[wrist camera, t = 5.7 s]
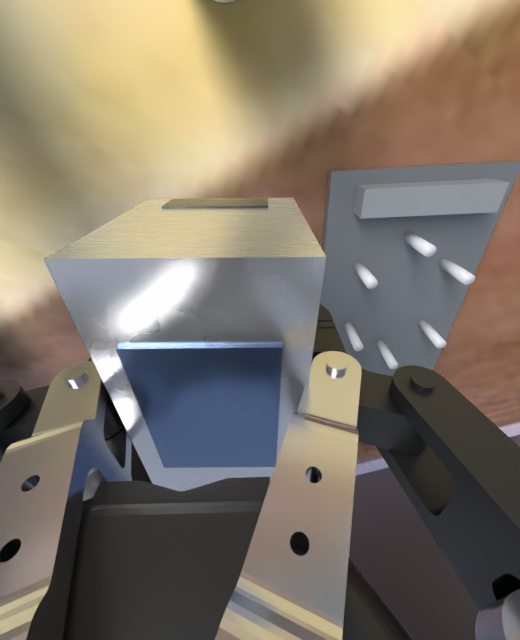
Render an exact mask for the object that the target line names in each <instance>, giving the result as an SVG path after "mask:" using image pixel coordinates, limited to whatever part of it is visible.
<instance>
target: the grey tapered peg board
mask: <svg viewBox="0 0 520 640" xmlns="http://www.w3.org/2000/svg"><path fill="white" fill-rule="evenodd" d="M519 170H520V162H517V161H499V162H480V163H460V164H440V165H421V166H401V167H381V168H362V169H342V170H328V182H327V193H326V205H325V217H324V228H323V240H322V250H323V252H324V254H325V256H326V262H325V269H324V276H323V283H322V291H321V298H320V305H323V306H324V307H325V308H326V309H327V310H329V311H330V313H331V316H332V318H333V321H334V323H335V326H336V328H337V331H338V333H339V336H340V338H341V341H342V343H343V346H344V348H345V350H346V353H347V354H348V355H350V356H352V357H353V358H355V359H356V360H357V361H358V363H359V364H360V366H361V368H362V369H364V370H367V371H370V372H374V373H379V374H384V375H389V376H393V375H394V372H395V371H396V370H397V369H398V368H400V367H403V366H408V365H414V366H421V367H424V368H428V369H430V370H432V371H433V369H434V366H435V364H436V362H437V359H438V357H439V355H440V352H441V350H442V348H443V347H445V346H446V342H445V341H446V339H447V336H448V334H449V332H450V329H451V327H452V325H453V322H454V320H455V318H456V316H457V313H458V311H459V309H460V306H461V304H462V302H463V299H464V297H465V295H466V292H467V290H468V288H469V286H470V284H471V283H472V282H473V281H474V280H475V276H474V274H475V272H476V269H477V267H478V265H479V262H480V260H481V258H482V256H483V253H484V251H485V249H486V246H487V244H488V242H489V239H490V237H491V235H492V232H493V230H494V228H495V225H496V223H497V221H498V219H499V216H500V214H501V212H502V209H503V207H504V205H505V202H506V200H507V198H508V195H509V193H510V191H511V189H512V186H513V184H514V182H515V179H516V177H517V175H518V172H519Z"/></svg>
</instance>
